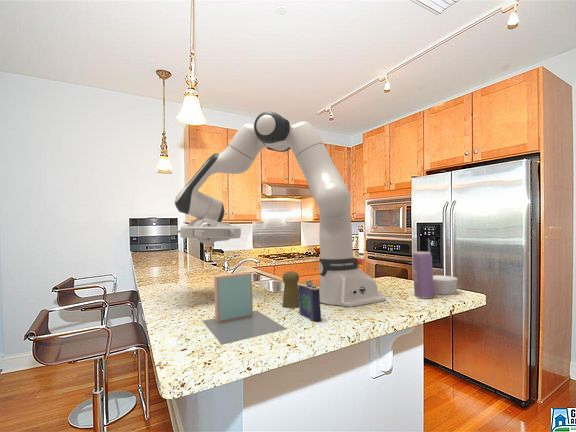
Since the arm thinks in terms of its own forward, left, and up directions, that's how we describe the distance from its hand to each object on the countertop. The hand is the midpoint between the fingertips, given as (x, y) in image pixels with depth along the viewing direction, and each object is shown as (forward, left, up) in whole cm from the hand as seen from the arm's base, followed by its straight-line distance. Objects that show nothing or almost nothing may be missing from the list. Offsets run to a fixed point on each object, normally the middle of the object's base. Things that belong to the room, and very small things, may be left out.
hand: (217, 233), depth 90 cm
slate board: (-6, +19, -24) cm, 31 cm away
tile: (-4, +13, -23) cm, 27 cm away
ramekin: (-77, +6, -24) cm, 81 cm away
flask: (-24, +19, -24) cm, 39 cm away
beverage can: (-67, +10, -24) cm, 72 cm away
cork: (-22, +6, -24) cm, 33 cm away
